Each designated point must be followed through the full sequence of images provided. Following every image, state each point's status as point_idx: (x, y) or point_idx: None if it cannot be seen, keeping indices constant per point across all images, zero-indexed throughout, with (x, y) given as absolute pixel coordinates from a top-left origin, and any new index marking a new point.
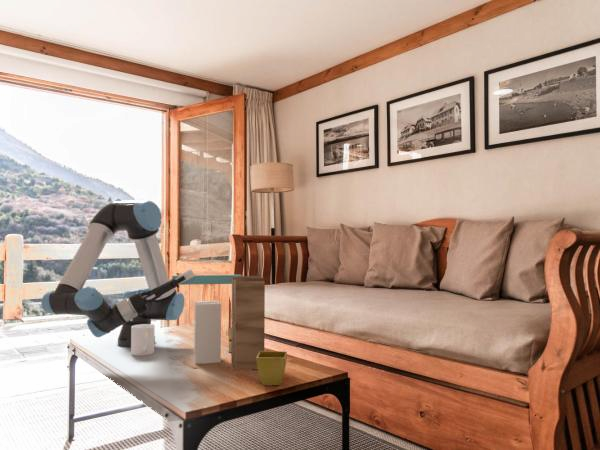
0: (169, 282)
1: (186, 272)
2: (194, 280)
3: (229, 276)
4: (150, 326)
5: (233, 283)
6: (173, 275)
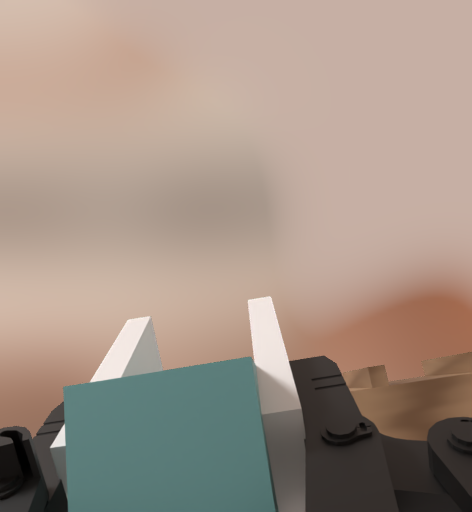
0: (393, 503)
1: (276, 322)
2: None
3: None
4: None
5: (424, 399)
6: (142, 376)
